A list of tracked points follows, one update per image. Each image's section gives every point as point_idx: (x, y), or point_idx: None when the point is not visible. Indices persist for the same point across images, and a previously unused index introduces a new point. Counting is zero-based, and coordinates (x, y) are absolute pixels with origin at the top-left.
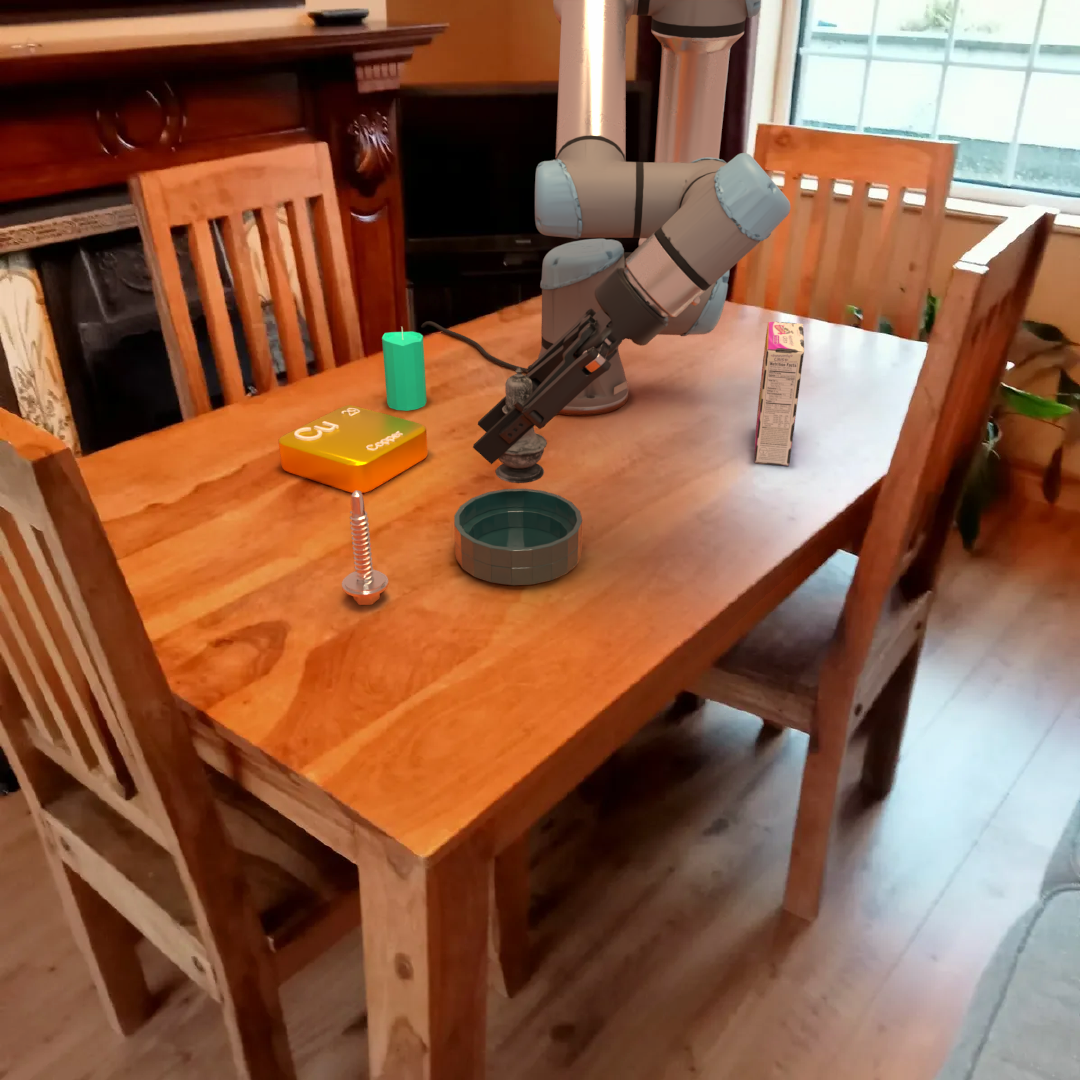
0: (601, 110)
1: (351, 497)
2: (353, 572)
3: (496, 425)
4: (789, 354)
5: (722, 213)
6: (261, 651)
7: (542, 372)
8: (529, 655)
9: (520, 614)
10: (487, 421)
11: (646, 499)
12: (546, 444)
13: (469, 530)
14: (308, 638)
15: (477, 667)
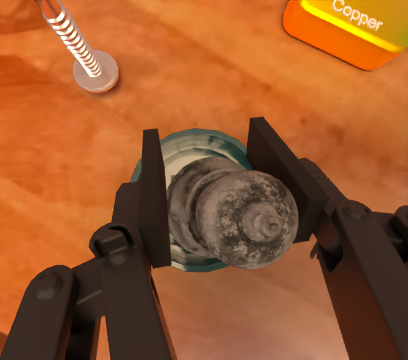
0: None
1: None
2: (105, 55)
3: (142, 170)
4: None
5: None
6: (9, 16)
7: (357, 288)
8: (35, 240)
9: (99, 219)
10: (255, 135)
11: (328, 303)
12: (215, 257)
13: (198, 147)
14: (34, 48)
15: (11, 199)
